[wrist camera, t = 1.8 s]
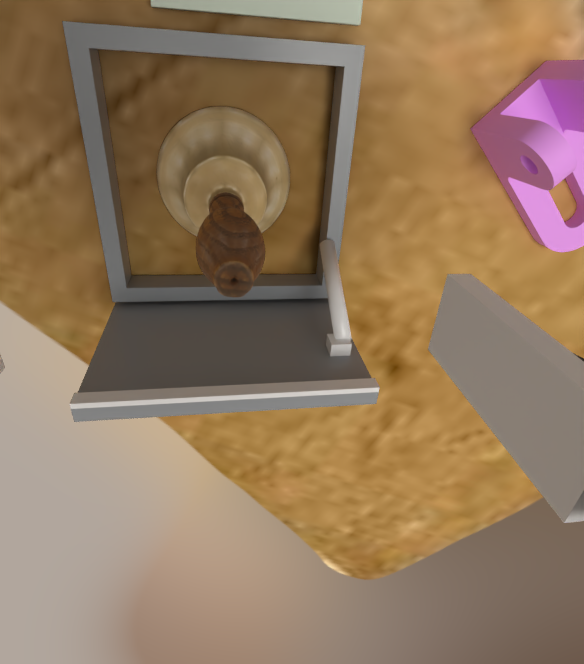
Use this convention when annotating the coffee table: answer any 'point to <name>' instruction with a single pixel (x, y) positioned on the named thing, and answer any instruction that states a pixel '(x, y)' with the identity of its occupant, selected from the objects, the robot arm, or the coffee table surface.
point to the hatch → (196, 290)
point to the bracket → (541, 149)
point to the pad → (275, 9)
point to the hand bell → (224, 190)
